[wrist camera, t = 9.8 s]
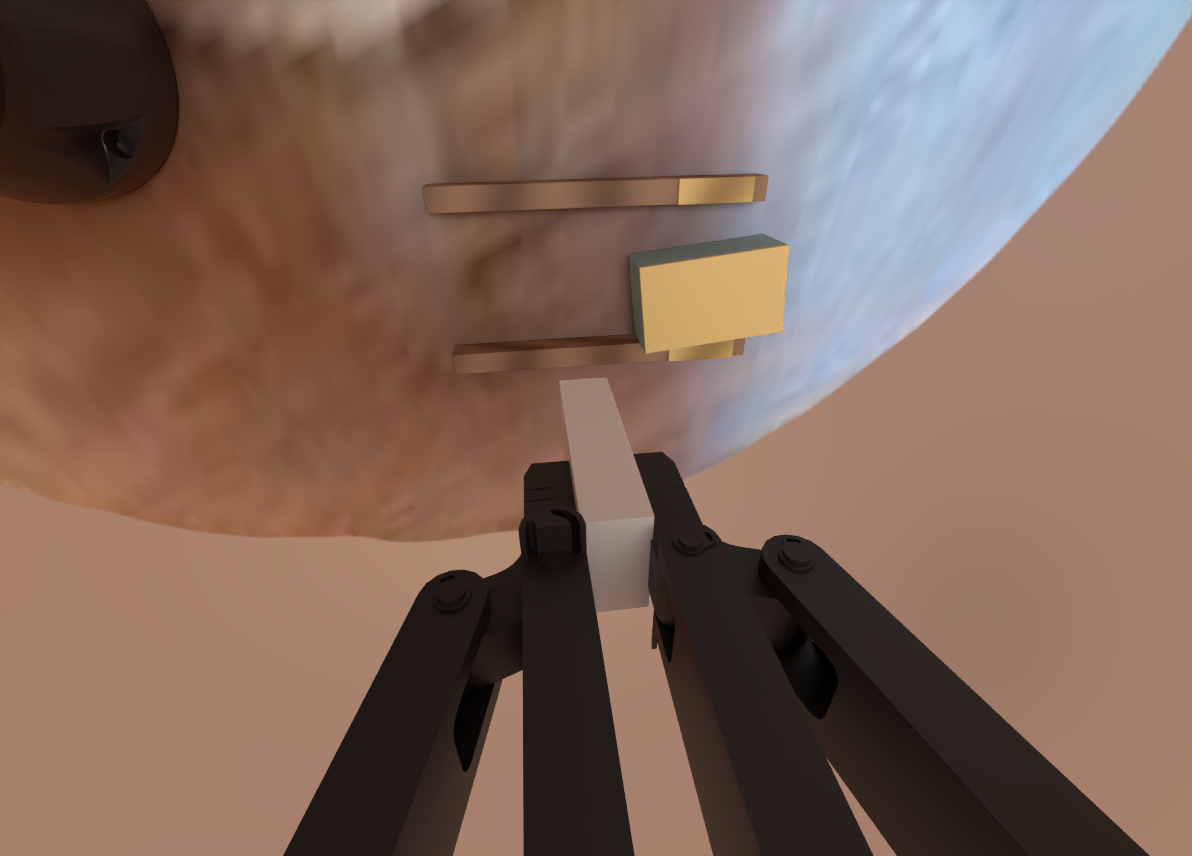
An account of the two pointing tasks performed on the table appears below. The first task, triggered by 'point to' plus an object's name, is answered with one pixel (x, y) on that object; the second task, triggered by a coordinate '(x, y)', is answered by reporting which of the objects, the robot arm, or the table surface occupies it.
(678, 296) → the block
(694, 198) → the beam slot
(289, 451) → the table surface
